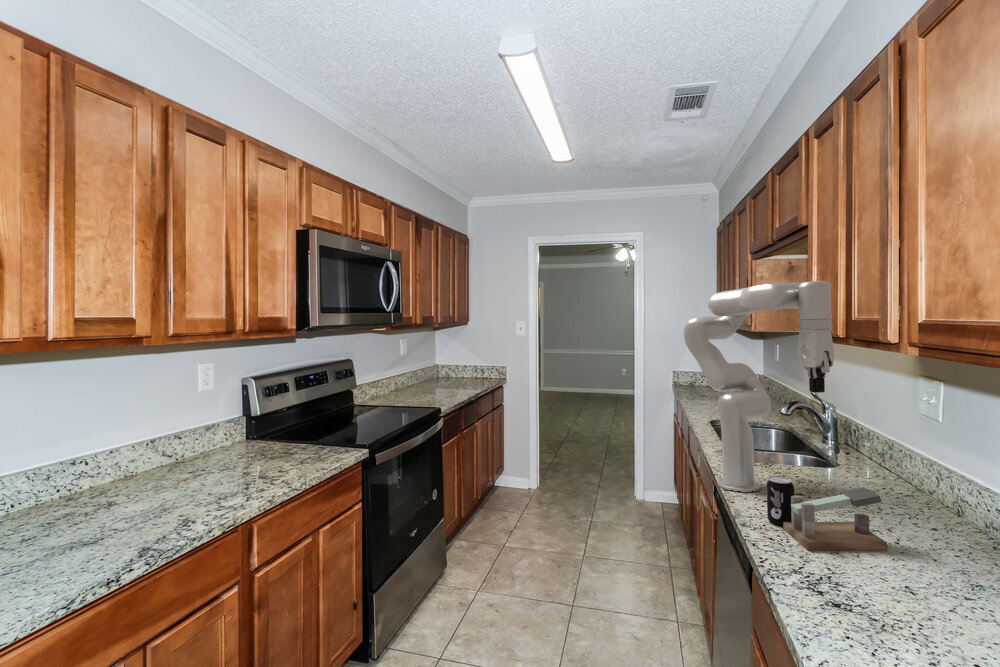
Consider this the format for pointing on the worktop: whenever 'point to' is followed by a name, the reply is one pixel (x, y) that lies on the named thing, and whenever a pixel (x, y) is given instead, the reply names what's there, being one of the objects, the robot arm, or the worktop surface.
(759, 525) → the worktop surface
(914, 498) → the worktop surface
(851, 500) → the press lever
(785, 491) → the beverage can
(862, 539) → the press base
